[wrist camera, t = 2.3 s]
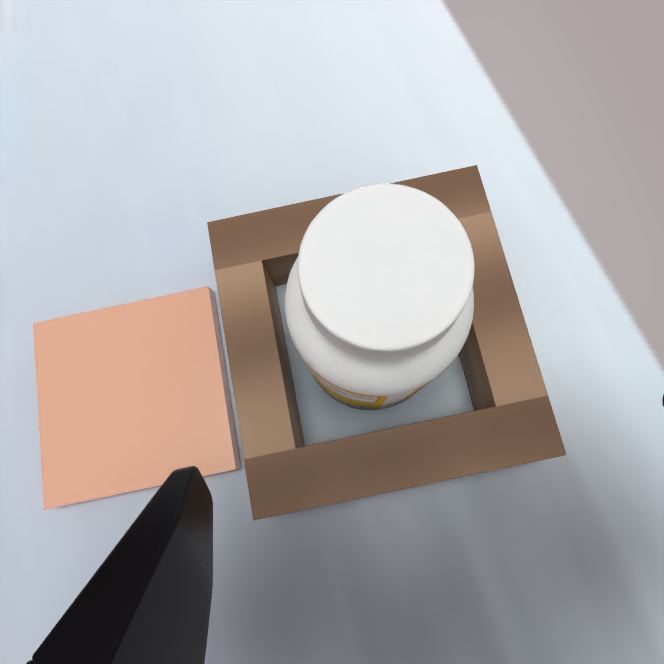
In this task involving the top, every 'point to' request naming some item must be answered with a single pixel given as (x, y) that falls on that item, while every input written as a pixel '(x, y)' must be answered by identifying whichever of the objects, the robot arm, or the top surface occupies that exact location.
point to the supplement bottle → (380, 294)
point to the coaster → (132, 397)
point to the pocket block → (391, 444)
